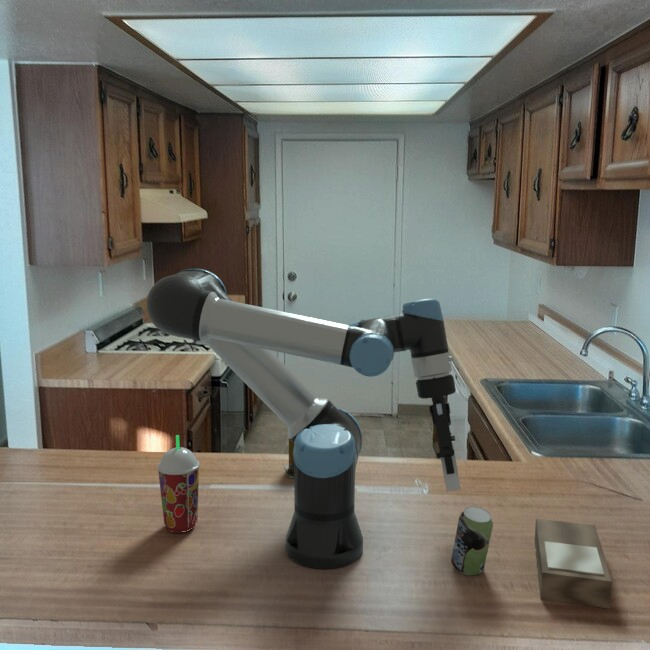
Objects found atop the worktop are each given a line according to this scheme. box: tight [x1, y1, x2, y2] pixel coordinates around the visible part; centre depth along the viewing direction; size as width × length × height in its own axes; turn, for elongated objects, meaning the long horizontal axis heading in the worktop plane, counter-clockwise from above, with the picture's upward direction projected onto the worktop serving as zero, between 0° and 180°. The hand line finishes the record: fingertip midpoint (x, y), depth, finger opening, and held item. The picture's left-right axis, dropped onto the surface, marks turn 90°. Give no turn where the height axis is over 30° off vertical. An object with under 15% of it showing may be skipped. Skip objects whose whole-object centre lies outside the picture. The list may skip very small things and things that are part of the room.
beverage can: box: [450, 505, 494, 576], centre depth 122 cm, size 6×7×12 cm
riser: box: [534, 518, 613, 609], centre depth 122 cm, size 11×20×5 cm, turn 166°
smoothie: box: [157, 434, 200, 533], centre depth 138 cm, size 8×8×20 cm
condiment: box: [283, 438, 294, 479], centre depth 167 cm, size 7×8×12 cm
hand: (452, 481), depth 133 cm, fingers open, 13 cm apart
